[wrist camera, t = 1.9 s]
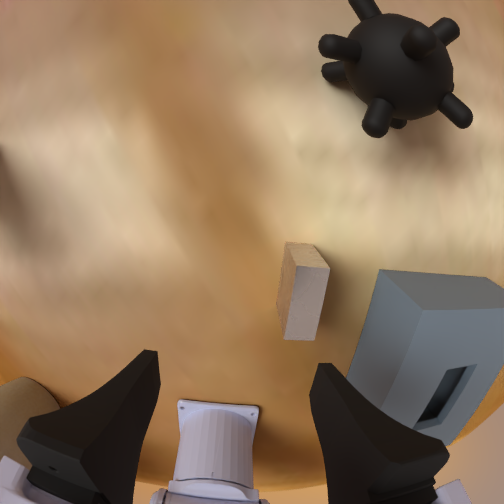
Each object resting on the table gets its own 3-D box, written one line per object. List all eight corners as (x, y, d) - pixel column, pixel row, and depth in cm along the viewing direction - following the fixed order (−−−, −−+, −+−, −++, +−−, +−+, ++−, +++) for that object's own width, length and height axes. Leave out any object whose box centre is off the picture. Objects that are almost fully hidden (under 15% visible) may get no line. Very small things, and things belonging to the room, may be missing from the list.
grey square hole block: (427, 407, 28) (450, 444, 22) (328, 421, 28) (342, 470, 21) (486, 277, 23) (529, 306, 16) (379, 269, 22) (423, 310, 15)
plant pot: (-15, 338, 24) (-82, 410, 9) (69, 372, 25) (4, 483, 10) (18, 414, 28) (-23, 482, 13) (96, 447, 29) (65, 535, 14)
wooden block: (301, 304, 23) (314, 340, 18) (276, 303, 23) (283, 339, 18) (311, 244, 21) (330, 268, 17) (285, 241, 21) (296, 265, 17)
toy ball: (453, 179, 17) (326, 172, 14) (390, 96, 22) (272, 75, 19) (529, 83, 9) (415, -6, 6) (435, 10, 13) (308, -45, 10)
